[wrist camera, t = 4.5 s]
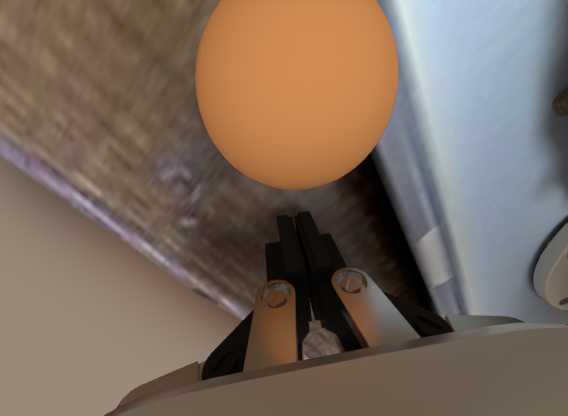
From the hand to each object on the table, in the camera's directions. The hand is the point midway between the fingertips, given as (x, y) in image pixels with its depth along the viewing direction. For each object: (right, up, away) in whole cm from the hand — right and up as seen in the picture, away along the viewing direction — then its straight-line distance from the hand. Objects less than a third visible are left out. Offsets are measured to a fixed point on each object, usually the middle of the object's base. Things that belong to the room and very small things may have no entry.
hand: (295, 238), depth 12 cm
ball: (0, +5, -4) cm, 7 cm away
